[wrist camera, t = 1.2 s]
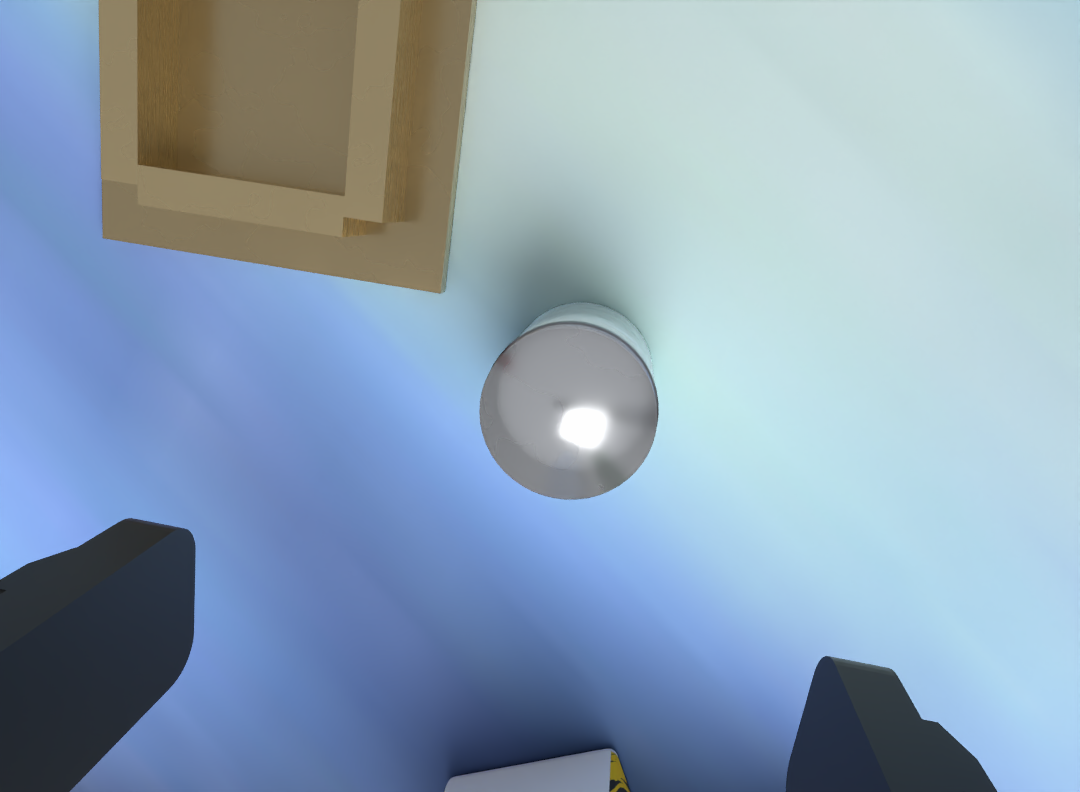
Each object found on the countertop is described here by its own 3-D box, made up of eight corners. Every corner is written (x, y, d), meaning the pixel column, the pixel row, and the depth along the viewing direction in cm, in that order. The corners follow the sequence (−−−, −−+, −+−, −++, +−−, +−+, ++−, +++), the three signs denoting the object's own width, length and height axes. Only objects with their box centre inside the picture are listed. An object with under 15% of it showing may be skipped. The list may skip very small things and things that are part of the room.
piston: (666, 313, 24) (675, 342, 19) (640, 452, 25) (641, 515, 20) (520, 289, 24) (489, 312, 19) (502, 428, 26) (467, 483, 20)
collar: (489, -113, 22) (469, -155, 19) (445, 291, 25) (423, 300, 22) (110, -156, 23) (45, -201, 20) (114, 237, 26) (58, 240, 23)
